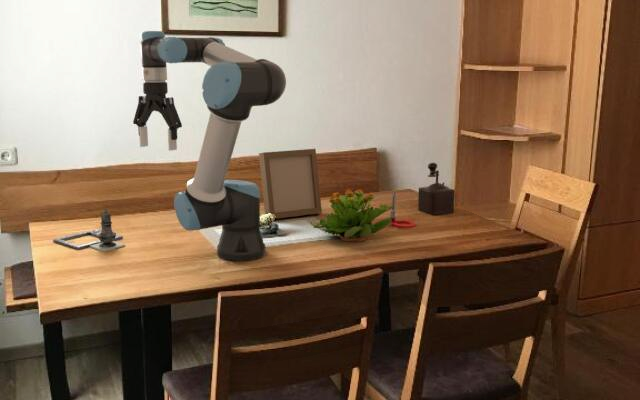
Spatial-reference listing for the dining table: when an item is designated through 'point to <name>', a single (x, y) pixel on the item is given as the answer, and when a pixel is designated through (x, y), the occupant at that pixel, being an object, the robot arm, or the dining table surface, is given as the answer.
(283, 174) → the photo frame
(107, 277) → the dining table surface
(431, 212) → the manual coffee grinder
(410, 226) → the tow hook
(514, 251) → the dining table surface
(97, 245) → the mat
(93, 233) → the grey metal rectangular frame
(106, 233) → the dark grey chess piece
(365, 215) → the potted flower
